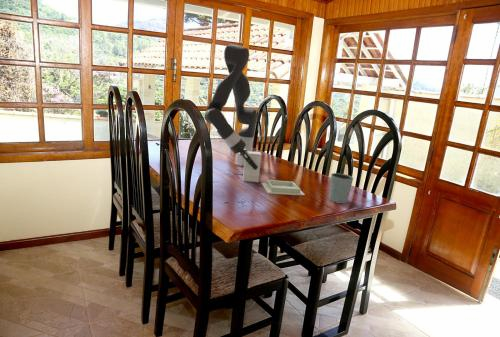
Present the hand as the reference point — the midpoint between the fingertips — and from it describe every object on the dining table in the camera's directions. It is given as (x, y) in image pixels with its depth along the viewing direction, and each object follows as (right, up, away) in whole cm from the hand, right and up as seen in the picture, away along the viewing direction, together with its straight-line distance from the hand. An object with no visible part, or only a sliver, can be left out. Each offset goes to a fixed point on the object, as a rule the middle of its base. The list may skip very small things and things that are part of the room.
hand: (255, 166), depth 178 cm
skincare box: (-3, -7, +2) cm, 8 cm away
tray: (+13, -11, -7) cm, 19 cm away
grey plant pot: (+39, -16, -13) cm, 44 cm away
